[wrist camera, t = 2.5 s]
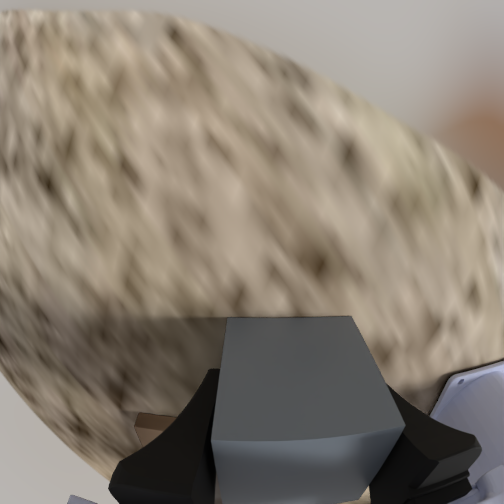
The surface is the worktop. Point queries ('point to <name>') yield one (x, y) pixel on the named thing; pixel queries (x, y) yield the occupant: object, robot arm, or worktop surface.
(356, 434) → the blue-grey block
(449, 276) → the worktop surface
